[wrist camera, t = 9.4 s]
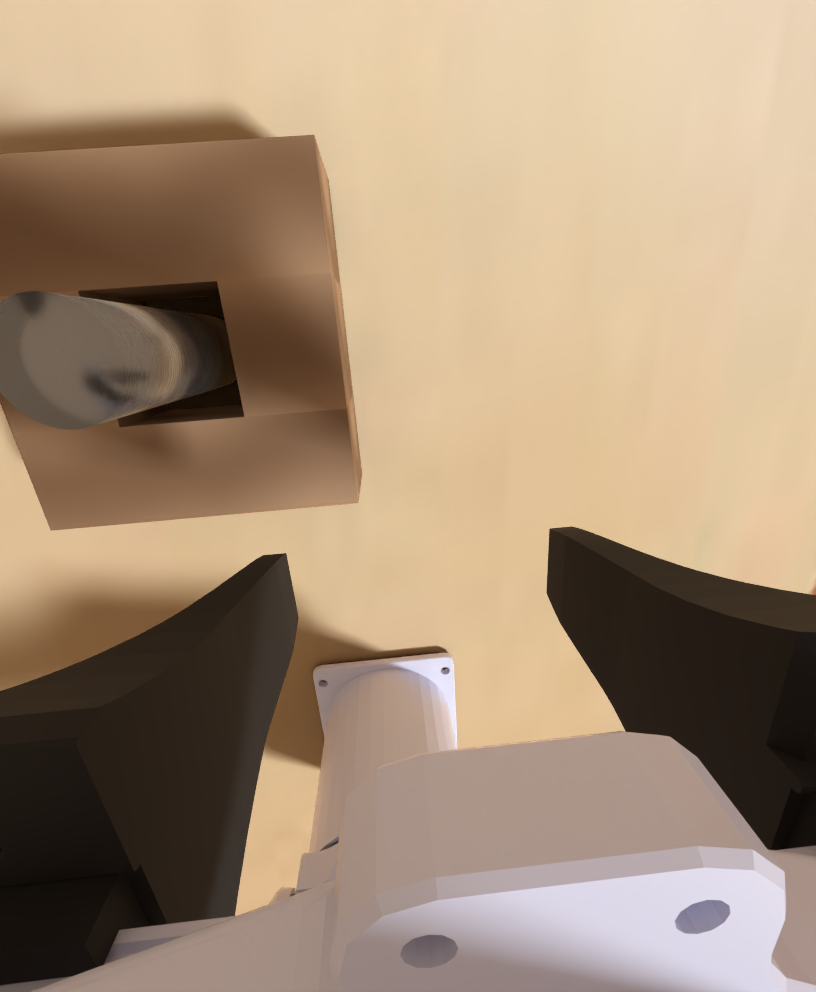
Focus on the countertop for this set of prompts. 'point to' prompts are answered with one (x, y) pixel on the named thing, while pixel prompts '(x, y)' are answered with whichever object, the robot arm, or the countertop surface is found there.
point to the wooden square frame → (183, 274)
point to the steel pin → (104, 357)
